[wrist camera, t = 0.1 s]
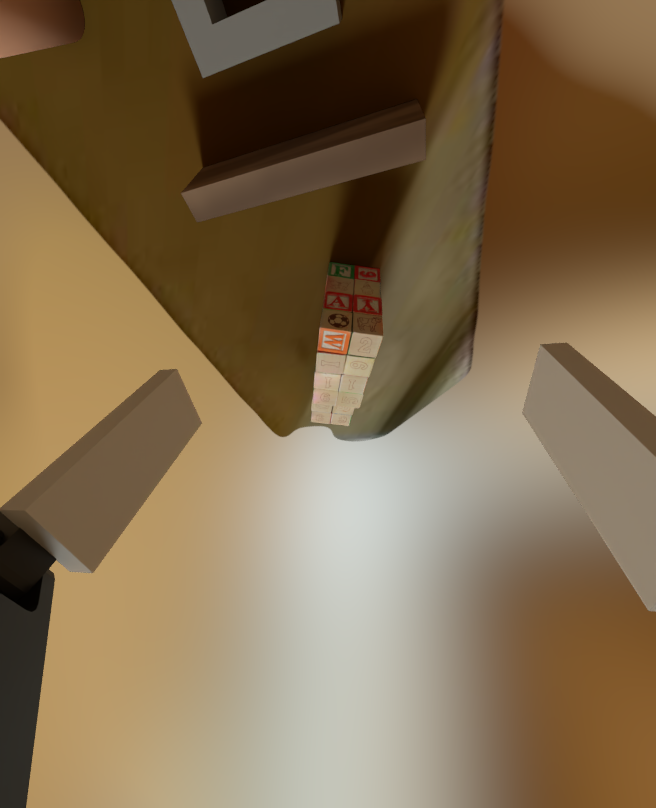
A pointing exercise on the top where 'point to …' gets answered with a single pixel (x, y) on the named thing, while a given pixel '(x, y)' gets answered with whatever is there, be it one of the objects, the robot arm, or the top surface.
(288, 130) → the top surface
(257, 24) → the grey square frame
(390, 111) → the wall
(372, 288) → the stack of blocks
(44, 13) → the dowel
